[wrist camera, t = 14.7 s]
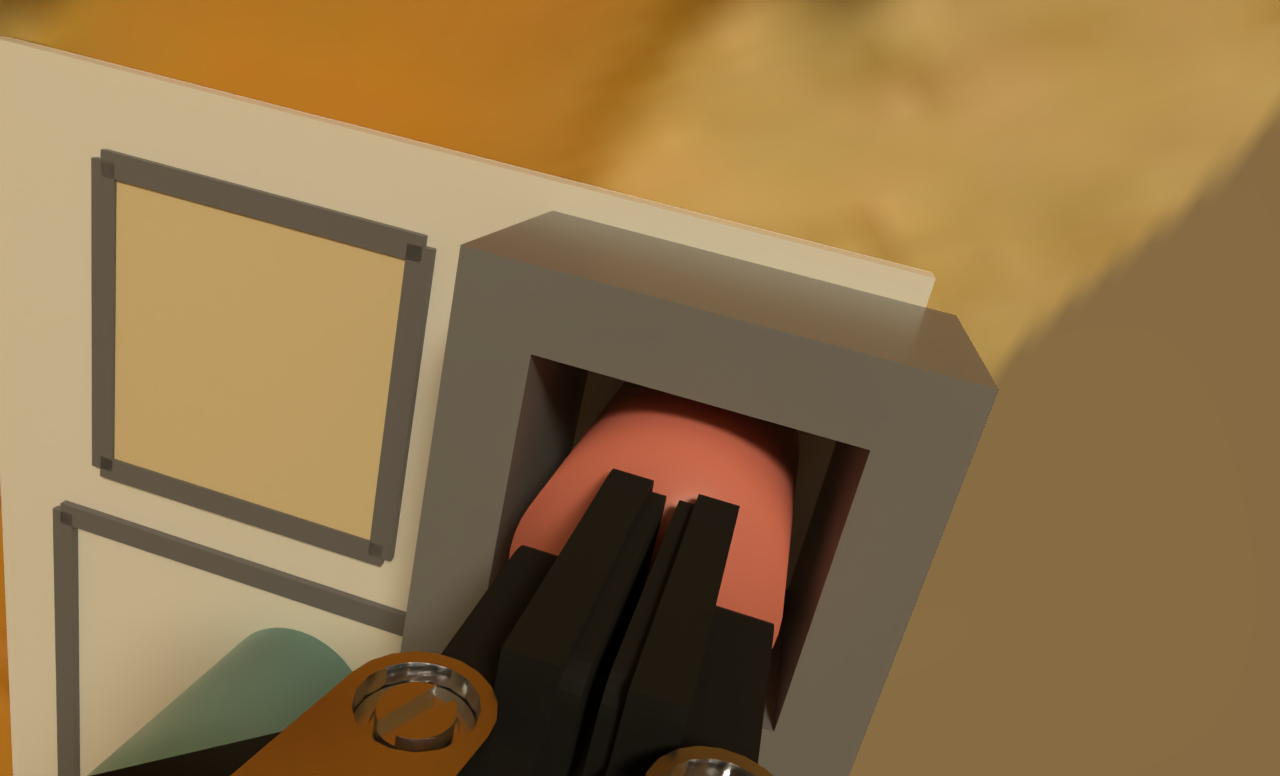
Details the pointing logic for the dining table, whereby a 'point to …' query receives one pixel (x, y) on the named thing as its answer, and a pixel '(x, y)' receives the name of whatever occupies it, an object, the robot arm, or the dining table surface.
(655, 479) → the button
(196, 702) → the cylinder
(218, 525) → the cream board with squares
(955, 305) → the dining table surface
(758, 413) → the button collar
